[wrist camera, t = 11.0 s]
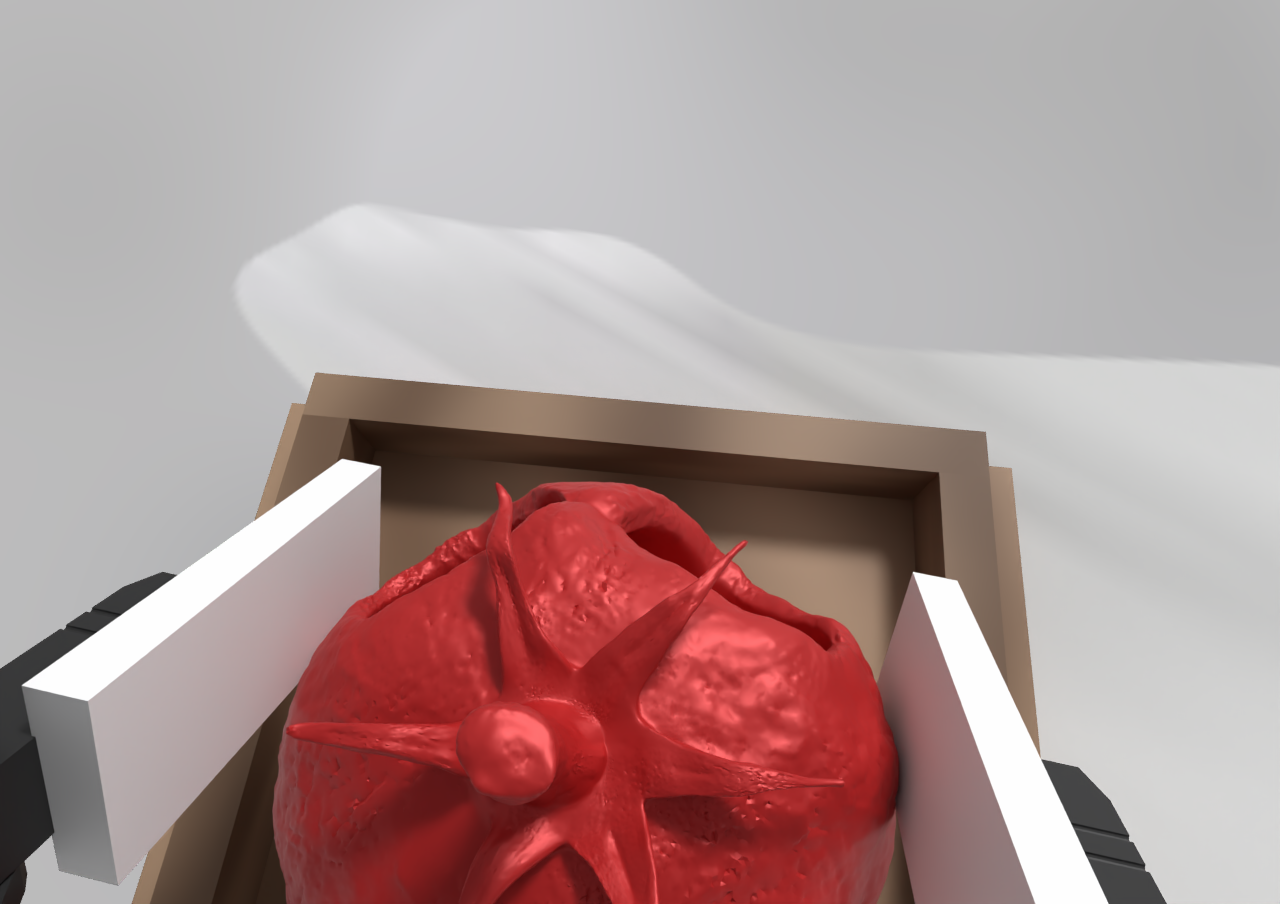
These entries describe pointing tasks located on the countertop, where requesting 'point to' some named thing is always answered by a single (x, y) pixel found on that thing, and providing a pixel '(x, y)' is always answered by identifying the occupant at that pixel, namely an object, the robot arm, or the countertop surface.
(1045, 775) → the robot arm
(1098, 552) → the countertop surface
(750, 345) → the countertop surface
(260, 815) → the tray
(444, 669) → the pomegranate
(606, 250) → the countertop surface
